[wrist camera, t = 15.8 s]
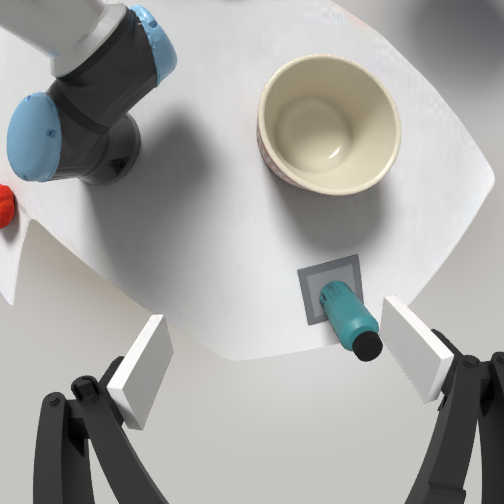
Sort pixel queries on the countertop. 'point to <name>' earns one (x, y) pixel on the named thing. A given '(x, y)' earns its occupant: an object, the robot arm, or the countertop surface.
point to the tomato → (6, 206)
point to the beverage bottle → (351, 320)
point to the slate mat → (323, 274)
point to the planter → (328, 125)
